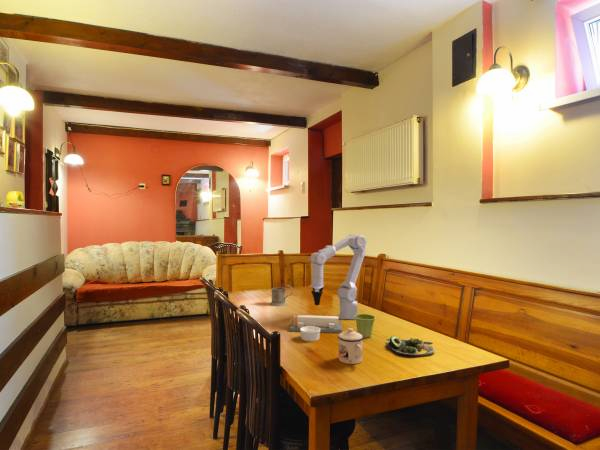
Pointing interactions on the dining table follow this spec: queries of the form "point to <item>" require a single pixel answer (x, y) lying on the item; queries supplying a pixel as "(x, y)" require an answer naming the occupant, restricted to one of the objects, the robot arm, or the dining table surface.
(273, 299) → the mug
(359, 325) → the plant pot
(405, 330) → the dining table surface
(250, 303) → the dining table surface
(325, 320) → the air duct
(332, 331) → the collar stand
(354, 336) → the teacup with lid
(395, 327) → the dining table surface
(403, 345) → the salad plate
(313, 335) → the ramekin
